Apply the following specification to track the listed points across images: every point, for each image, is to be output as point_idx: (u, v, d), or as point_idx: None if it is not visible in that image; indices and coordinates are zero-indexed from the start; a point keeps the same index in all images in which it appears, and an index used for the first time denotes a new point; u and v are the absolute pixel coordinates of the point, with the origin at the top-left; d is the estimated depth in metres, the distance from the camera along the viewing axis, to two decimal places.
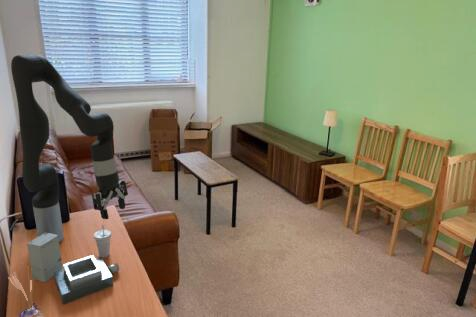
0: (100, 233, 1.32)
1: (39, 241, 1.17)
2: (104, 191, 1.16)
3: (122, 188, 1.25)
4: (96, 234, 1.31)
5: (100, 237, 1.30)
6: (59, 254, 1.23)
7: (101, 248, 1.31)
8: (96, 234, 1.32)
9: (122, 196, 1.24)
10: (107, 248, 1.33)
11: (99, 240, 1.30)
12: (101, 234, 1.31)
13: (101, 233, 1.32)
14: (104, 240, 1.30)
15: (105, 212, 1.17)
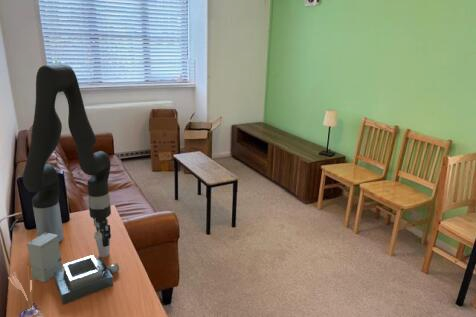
0: (100, 233, 1.32)
1: (39, 241, 1.17)
2: (106, 221, 1.28)
3: None
4: (96, 234, 1.31)
5: (100, 237, 1.30)
6: (59, 254, 1.23)
7: (101, 248, 1.31)
8: (96, 234, 1.32)
9: None
10: (107, 248, 1.33)
11: (99, 240, 1.30)
12: None
13: None
14: None
15: (108, 239, 1.30)
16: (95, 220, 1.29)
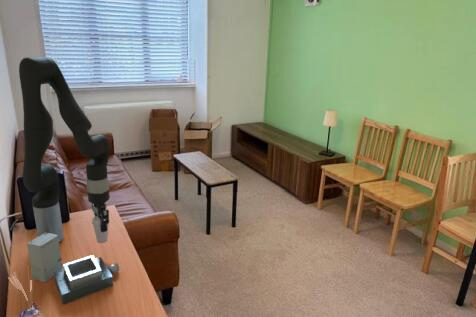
0: (98, 218, 1.30)
1: (39, 241, 1.17)
2: (105, 206, 1.26)
3: None
4: (94, 219, 1.29)
5: (98, 222, 1.28)
6: (59, 254, 1.23)
7: (99, 233, 1.29)
8: (94, 219, 1.29)
9: None
10: (105, 234, 1.31)
11: (97, 225, 1.28)
12: None
13: None
14: None
15: (106, 225, 1.28)
16: (93, 205, 1.27)
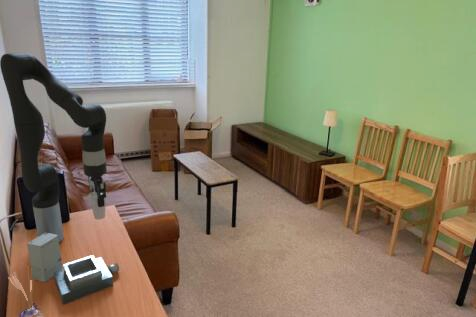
0: (95, 193, 1.25)
1: (39, 241, 1.17)
2: (102, 179, 1.21)
3: None
4: (91, 194, 1.25)
5: (95, 197, 1.23)
6: (59, 254, 1.23)
7: (96, 209, 1.25)
8: (91, 194, 1.25)
9: None
10: (102, 209, 1.26)
11: (94, 200, 1.23)
12: None
13: None
14: None
15: (103, 199, 1.24)
16: (90, 179, 1.23)
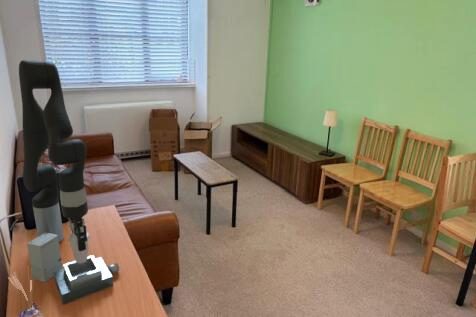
0: None
1: (39, 241, 1.17)
2: (82, 221, 1.09)
3: None
4: (71, 236, 1.12)
5: (76, 240, 1.11)
6: (59, 254, 1.23)
7: (77, 252, 1.12)
8: (71, 236, 1.12)
9: None
10: (84, 252, 1.14)
11: (74, 243, 1.11)
12: None
13: None
14: None
15: (84, 242, 1.11)
16: (69, 220, 1.10)
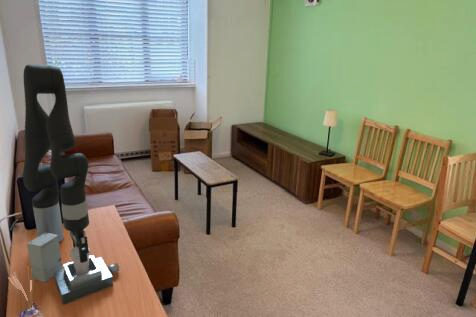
0: (77, 250, 1.15)
1: (39, 241, 1.17)
2: (83, 233, 1.10)
3: None
4: (72, 251, 1.14)
5: (77, 254, 1.13)
6: (59, 254, 1.23)
7: (78, 267, 1.14)
8: (72, 251, 1.14)
9: None
10: (85, 267, 1.16)
11: (75, 258, 1.13)
12: (78, 251, 1.14)
13: None
14: None
15: (86, 254, 1.11)
16: (71, 232, 1.12)
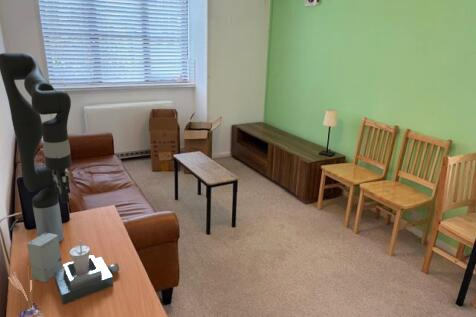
0: (77, 250, 1.15)
1: (39, 241, 1.17)
2: (65, 173, 1.09)
3: None
4: (72, 251, 1.14)
5: (77, 254, 1.13)
6: (59, 254, 1.23)
7: (78, 267, 1.14)
8: (72, 251, 1.14)
9: None
10: (85, 267, 1.16)
11: (76, 258, 1.13)
12: (78, 251, 1.14)
13: (78, 250, 1.15)
14: (81, 258, 1.13)
15: (67, 195, 1.11)
16: (52, 173, 1.11)
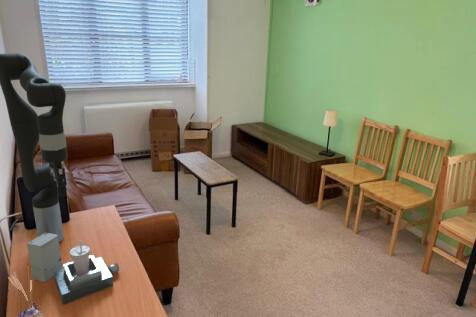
0: (77, 250, 1.15)
1: (39, 241, 1.17)
2: (61, 166, 1.10)
3: None
4: (72, 251, 1.14)
5: (77, 254, 1.13)
6: (59, 254, 1.23)
7: (78, 267, 1.14)
8: (72, 251, 1.15)
9: None
10: (85, 267, 1.16)
11: (76, 258, 1.13)
12: (78, 251, 1.14)
13: (78, 250, 1.15)
14: (81, 258, 1.13)
15: (64, 188, 1.12)
16: (49, 166, 1.12)
